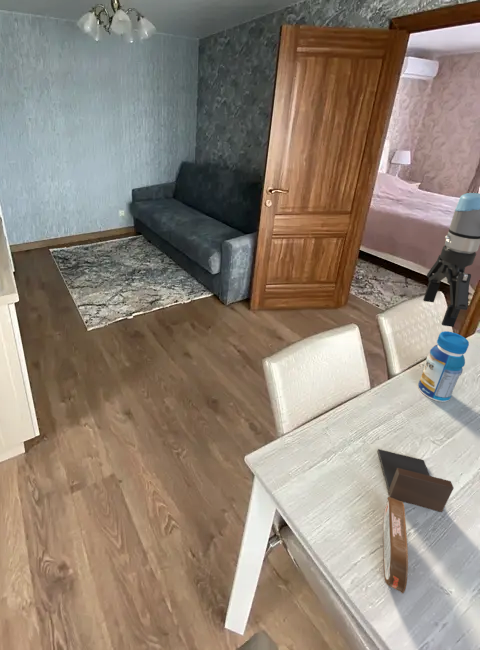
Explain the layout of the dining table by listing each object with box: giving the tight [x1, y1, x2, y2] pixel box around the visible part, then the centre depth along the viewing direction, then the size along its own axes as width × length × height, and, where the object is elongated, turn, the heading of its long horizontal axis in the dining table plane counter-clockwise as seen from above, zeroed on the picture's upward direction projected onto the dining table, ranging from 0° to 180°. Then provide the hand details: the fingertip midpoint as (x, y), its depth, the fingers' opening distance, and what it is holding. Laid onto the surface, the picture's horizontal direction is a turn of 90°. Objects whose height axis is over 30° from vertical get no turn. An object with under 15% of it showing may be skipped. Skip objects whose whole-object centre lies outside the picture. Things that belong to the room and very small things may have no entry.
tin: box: [382, 496, 409, 594], centre depth 65 cm, size 15×3×8 cm, turn 152°
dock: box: [376, 448, 454, 513], centre depth 78 cm, size 12×10×8 cm
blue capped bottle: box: [417, 330, 470, 403], centre depth 100 cm, size 8×8×20 cm
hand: (437, 312), depth 105 cm, fingers open, 13 cm apart
